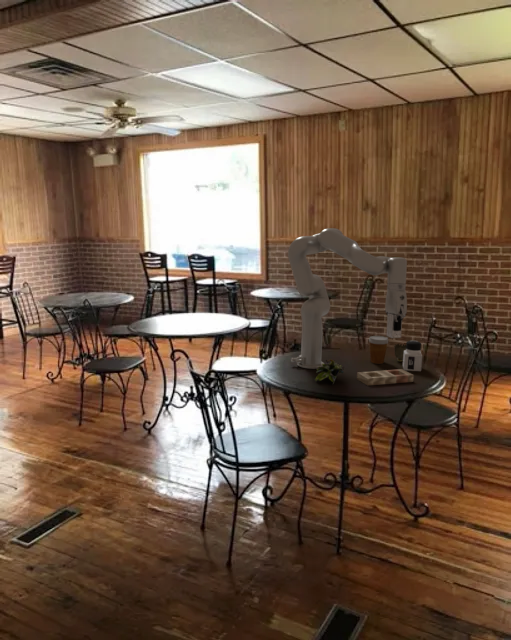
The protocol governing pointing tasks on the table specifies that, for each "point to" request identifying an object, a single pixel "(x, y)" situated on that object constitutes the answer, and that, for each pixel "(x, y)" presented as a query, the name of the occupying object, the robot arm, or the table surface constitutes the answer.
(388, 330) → the peg
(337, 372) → the passion flower
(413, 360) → the container
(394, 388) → the table surface
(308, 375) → the table surface
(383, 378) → the block with square holes
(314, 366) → the robot arm
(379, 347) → the disposable coffee cup
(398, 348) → the cup
